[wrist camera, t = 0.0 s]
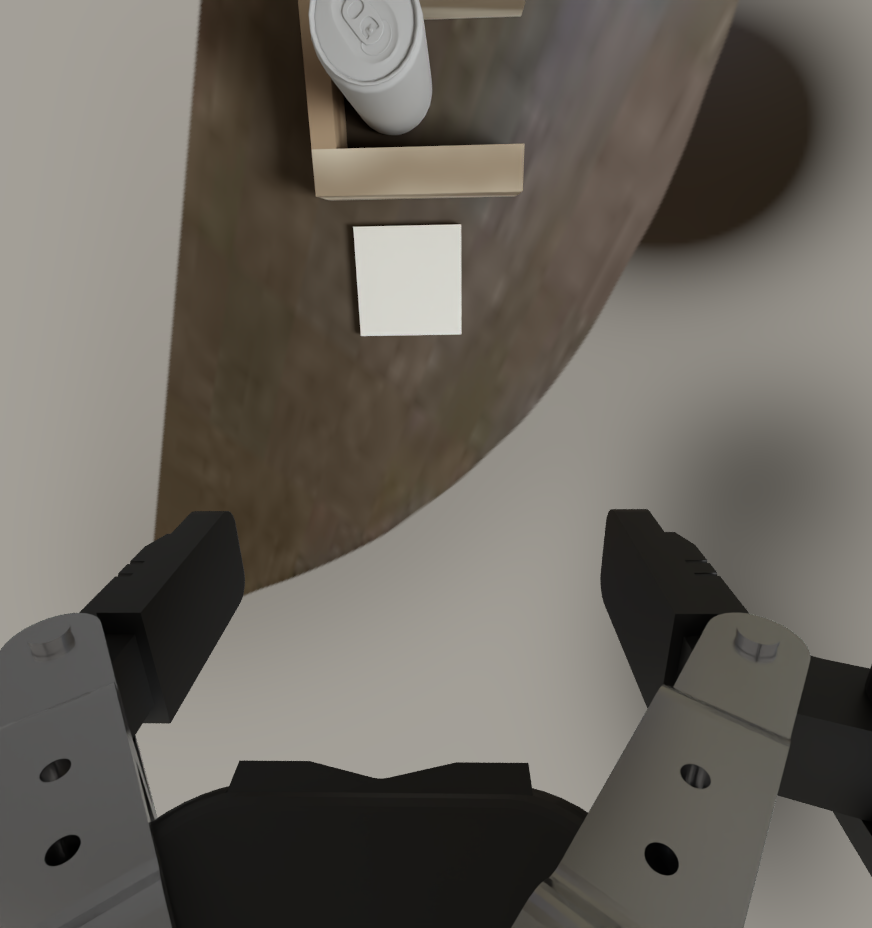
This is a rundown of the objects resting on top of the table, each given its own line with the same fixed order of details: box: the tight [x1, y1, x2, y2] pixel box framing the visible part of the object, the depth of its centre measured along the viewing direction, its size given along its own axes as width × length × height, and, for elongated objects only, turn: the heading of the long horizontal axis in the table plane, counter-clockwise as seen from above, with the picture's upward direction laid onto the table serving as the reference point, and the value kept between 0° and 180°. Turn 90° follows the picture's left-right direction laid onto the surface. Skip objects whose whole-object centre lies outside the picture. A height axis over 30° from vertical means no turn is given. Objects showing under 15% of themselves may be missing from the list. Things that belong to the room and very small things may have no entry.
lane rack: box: [298, 0, 526, 201], centre depth 32 cm, size 12×12×4 cm
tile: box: [353, 224, 461, 336], centre depth 38 cm, size 7×7×1 cm
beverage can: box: [308, 0, 432, 135], centre depth 28 cm, size 5×5×12 cm
